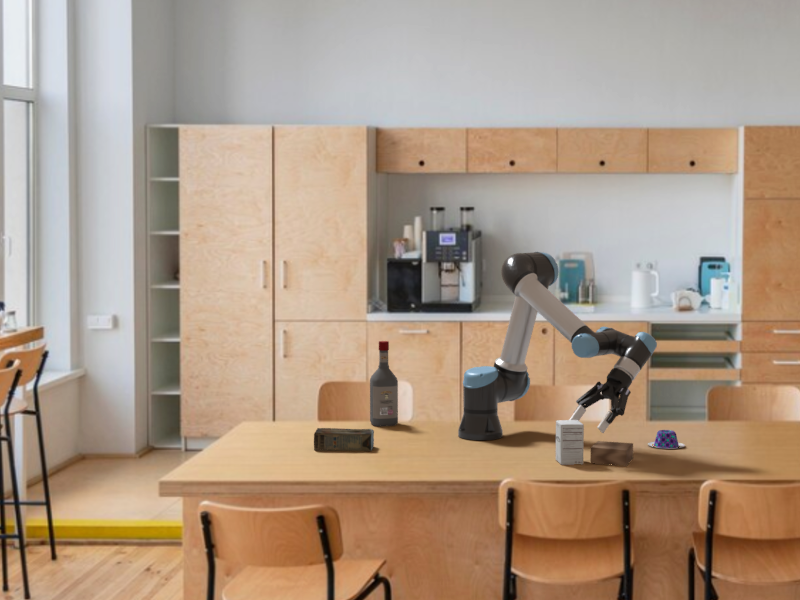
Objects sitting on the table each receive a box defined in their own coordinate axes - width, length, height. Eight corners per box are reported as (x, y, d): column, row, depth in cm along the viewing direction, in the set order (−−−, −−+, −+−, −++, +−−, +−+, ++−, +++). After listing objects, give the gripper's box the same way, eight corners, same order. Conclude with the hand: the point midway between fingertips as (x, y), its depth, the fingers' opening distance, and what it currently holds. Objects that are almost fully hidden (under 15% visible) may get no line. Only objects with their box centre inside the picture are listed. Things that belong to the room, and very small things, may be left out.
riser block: (590, 463, 377) (590, 447, 377) (597, 456, 388) (598, 440, 387) (626, 466, 373) (626, 450, 373) (632, 459, 384) (633, 443, 383)
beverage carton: (372, 452, 396) (372, 431, 396) (313, 451, 397) (312, 431, 397) (374, 447, 404) (374, 427, 403) (316, 446, 405) (316, 426, 405)
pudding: (665, 452, 396) (666, 436, 395) (639, 445, 406) (640, 430, 406) (692, 448, 402) (693, 432, 402) (666, 442, 412) (666, 426, 412)
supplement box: (554, 460, 383) (555, 419, 381) (578, 459, 383) (578, 419, 382) (559, 465, 375) (560, 424, 374) (583, 464, 376) (584, 423, 375)
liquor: (398, 425, 440) (398, 342, 438) (373, 427, 438) (373, 343, 436) (393, 421, 449) (393, 339, 447) (369, 422, 447) (368, 340, 445)
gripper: (656, 387, 378) (619, 440, 371) (602, 377, 399) (566, 428, 392) (643, 371, 374) (606, 425, 368) (590, 362, 396) (553, 413, 389)
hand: (585, 426), depth 380 cm, fingers open, 13 cm apart
